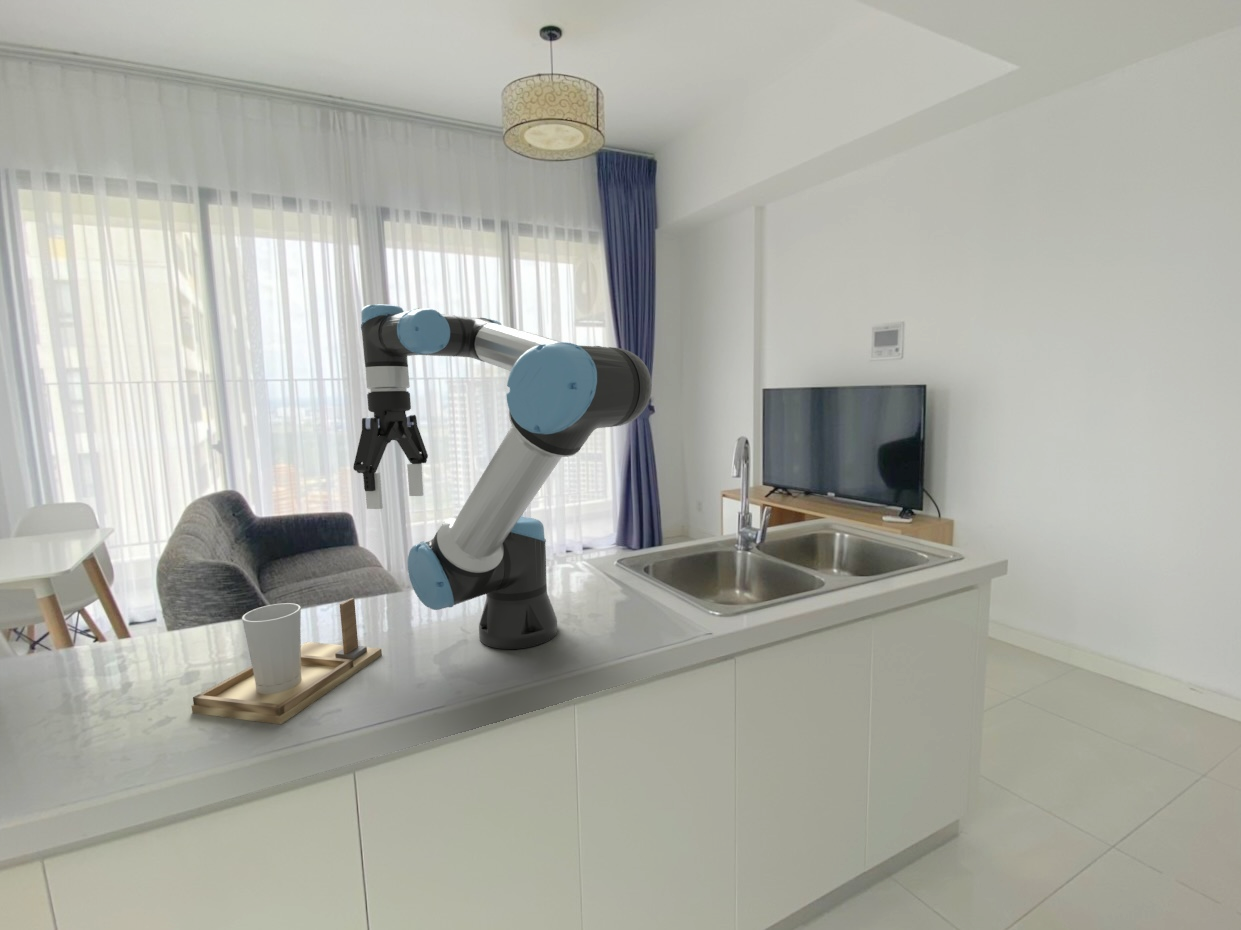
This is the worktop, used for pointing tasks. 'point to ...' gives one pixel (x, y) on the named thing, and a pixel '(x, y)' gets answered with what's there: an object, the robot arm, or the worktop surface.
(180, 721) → the worktop surface
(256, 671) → the cup
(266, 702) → the board
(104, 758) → the worktop surface
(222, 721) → the worktop surface
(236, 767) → the worktop surface
